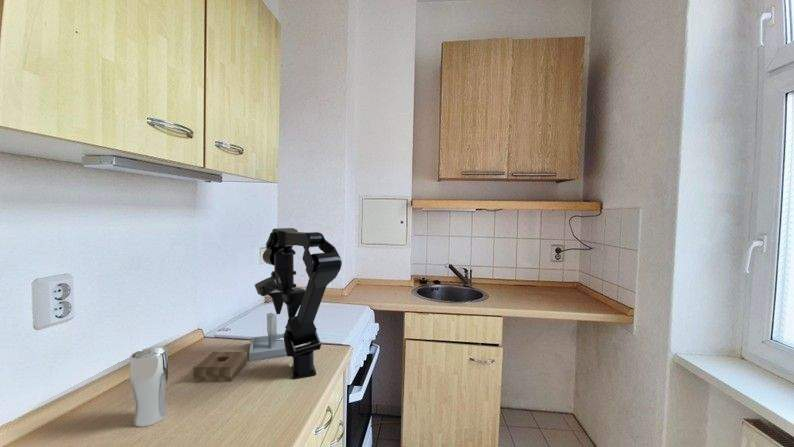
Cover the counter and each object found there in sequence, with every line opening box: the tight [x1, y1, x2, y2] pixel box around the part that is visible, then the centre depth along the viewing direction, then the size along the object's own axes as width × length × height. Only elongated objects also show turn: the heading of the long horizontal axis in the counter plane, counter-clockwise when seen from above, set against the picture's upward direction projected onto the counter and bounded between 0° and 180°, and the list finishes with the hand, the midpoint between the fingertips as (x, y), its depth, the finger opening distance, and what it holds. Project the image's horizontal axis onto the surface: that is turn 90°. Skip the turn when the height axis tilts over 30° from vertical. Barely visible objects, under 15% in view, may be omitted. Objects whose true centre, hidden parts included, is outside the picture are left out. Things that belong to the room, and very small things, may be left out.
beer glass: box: [129, 346, 170, 428], centre depth 74 cm, size 7×7×15 cm
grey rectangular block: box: [266, 312, 278, 348], centre depth 112 cm, size 4×2×11 cm, turn 43°
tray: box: [248, 333, 297, 362], centre depth 112 cm, size 14×14×2 cm
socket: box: [193, 351, 248, 383], centre depth 96 cm, size 10×10×4 cm
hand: (284, 317), depth 105 cm, fingers open, 9 cm apart
